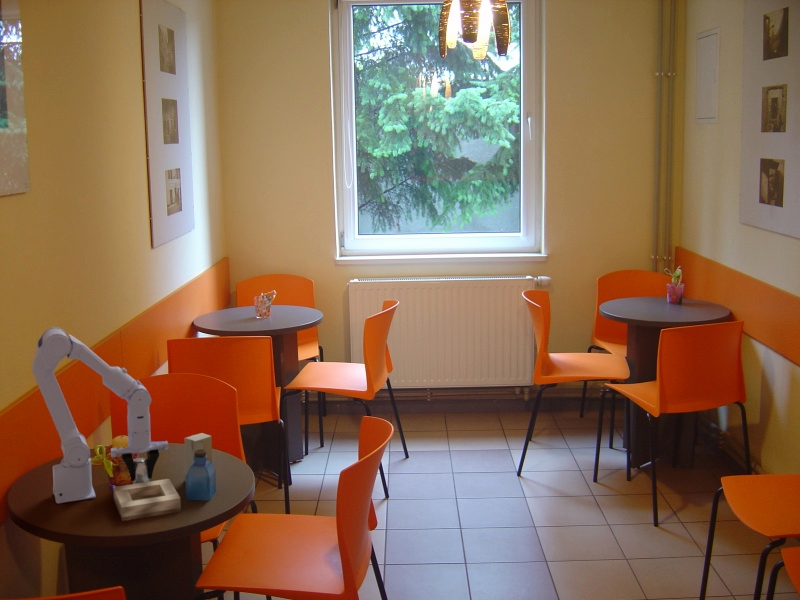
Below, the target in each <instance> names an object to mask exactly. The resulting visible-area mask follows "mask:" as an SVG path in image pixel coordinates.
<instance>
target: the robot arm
mask: <svg viewBox="0 0 800 600" xmlns="http://www.w3.org/2000/svg"><path fill="white" fill-rule="evenodd" d="M66 357H67V360H68V359H69V360H80V361H81V362H82V363H83V364H85V365H86V366H87V367H89V368H90V369H91V370H93V371H94V372H96V373H97V374H98V375H100V376H101V377H102V385H104V386H105V387H107V388H108V389H109V390H111V392H113V393H114V394H115V395H116V396H118V397H119V398H120V399H124V400H125V401H126V402H127V414H126V417H127V418H126V419H127V421H126V422H127V436H128V437H127V441H128V442H127V443H128V444H127V445H128V447H126V448H122V447H121V446H120V447H121V448H119V449H117V447H112V448H110V456H111V458H114V459H115V458H116V457H121V458H122V460H123V461H124V464H125V466H126V468H127V471H128V470H129V471H128V474H129V473H130V475H129V478H130V477H131V480H130V481H131V482H133V481H134V473H133V460H134V458H133V455H135V454H143V453H146V455H147V456H146V457H147V458H146V459H148V469H149V480H150V479H152V478H153V473H154V469H155V467H156V463H157V462H158V459H159V457H160V452H159V451H168V450H169V442H168V440H165V441H152V439H151V437H152V436H151V413H150V405H151V403H152V397H151V395H150V392H149V391H148V390H147V388H146V387H145V386H144V384H143V383H141V381H140V380H139V379H134V378H133V377H132V376H131V375H130V374H128V370H127V369H126V368H125V367H122V368H121V367H120V366H117V365H116V366H110V365H109V364H108V363H107V362H106V361H104V360H103V359H102V358H101V357H99V356H98V355H97V354H96V353H95V352H94V351H93V350H92V349H90V348H89V347H88V346H87V345H86V344H85V343H84V342H82V341H80V340H79V339H77V338H76V337H75V336H73V335H71V334H69V333H68V334H67V332H66V331H65V330H64V329H62V328H60V327H57V326H53V327H49V328H47V329H46V330H44V331H43V332H42V334H41V336H40V337H39V338H38V340H37V344H36V349H35V353H34V357H33V360H32V365H31V370H32V374H33V376H34V379H35V381H36V383H37V386H38V388H39V390H40V393H41V395H42V397H43V400H44V403H45V404H46V407H47V409H48V411H49V414H50V416H51V418H52V421H53V424H54V426H55V428H56V431H57V433H58V436H59V438H60V440H61V442H60V448H61V451H62V454H63V457H62V459H61V461H60V463H59V464H55V465H52V479H53V480H52V481H53V486H52V493H53V495H54V500H55V503H56V504H63V503H69V502H70V503H71V502H76V501H77V502H78V501H83V500H88V499H95V498H96V497H97V496H96V495H97V494H96V492H95V489H94V486H93V482H92V481H93V478H92V477H93V476H92V459H91V450H90V447H89V446H88V444H87V439H86V437H85V436H84V435H83V434H82V433H80V431H79V430H78V427H77V425H76V422H75V421H74V418H73V416H72V413H71V411H70V408H69V406H68V404H67V401H66V398H65V397H64V393H63V392H62V390H61V387H60V385H59V382H58V380H57V378H56V374H55V372H54V371H55V370H56V368H57V367H58V364H59V363H60V362H61V361H62V360H63V359H64V358H66Z"/></svg>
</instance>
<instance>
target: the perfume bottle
mask: <svg viewBox="0 0 800 600" xmlns="http://www.w3.org/2000/svg"><path fill="white" fill-rule="evenodd" d="M194 454H195V455H194V456H193V458H194V463H193V464H192V465H191V467H190V469H189V471H188V473H187V475H186V480H185V500H186V501H211V500H212V498H213V496H214V495H215V493H216V492H217V480H216V479H217V478H216V474H217V473H216V468H215V466H214V465H213V462H212V463H211V462H210V461H206V460H207V455H206V450H203V449H200V450H195V451H194Z"/></svg>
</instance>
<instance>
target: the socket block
mask: <svg viewBox="0 0 800 600" xmlns="http://www.w3.org/2000/svg"><path fill="white" fill-rule="evenodd" d="M112 489H113V501H114V503H115V506H116V508H117V511H118V513H119V516H120V519H121V521H122V522H126V521H132V519H133V520H137V519H138V518H139V519H144V517H145V518H149V516H150V517H156V516H161V515H166V514H167V515H168V514H174V513H179V512H181V511H182V506H181V496H180V495H179V493H178V491H177V490H176V488H175V486H174V485H173V483H172V482H171V479H170V478H165V479H158V480H151V481H150V480H149V482H143V483H137V484H133V483H132V484H125V485H118V486H113V488H112ZM125 520H126V521H125Z"/></svg>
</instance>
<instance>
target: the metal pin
mask: <svg viewBox="0 0 800 600" xmlns="http://www.w3.org/2000/svg"><path fill="white" fill-rule="evenodd" d="M133 460H134V459H133ZM133 473H134V481H132V482H133V483H132V484H137V483H143V482H150V479H149V469H148V459H147V458H146V457H138V458H135V460H134V461H133Z"/></svg>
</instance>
